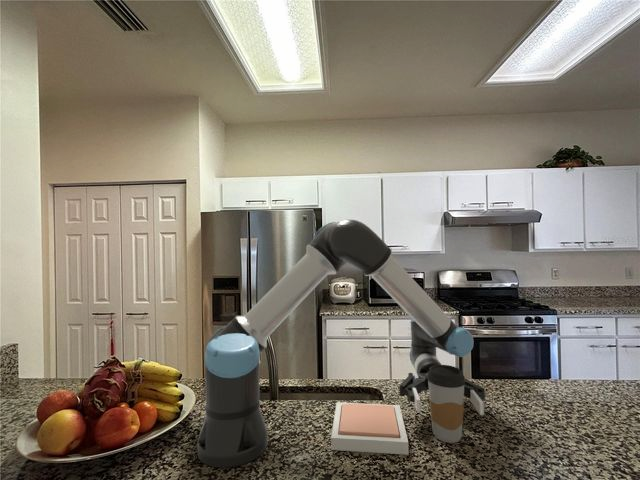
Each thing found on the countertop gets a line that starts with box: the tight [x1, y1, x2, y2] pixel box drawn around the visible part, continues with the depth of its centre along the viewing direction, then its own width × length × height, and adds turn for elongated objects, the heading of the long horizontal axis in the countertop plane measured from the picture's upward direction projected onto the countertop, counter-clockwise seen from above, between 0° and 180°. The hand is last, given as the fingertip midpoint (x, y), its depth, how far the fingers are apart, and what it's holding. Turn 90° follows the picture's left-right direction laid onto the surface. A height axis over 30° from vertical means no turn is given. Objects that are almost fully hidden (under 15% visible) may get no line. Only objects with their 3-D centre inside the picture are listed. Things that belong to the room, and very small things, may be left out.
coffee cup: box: [427, 364, 466, 444], centre depth 77 cm, size 8×8×15 cm
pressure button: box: [339, 402, 399, 438], centre depth 79 cm, size 13×13×1 cm
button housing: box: [330, 401, 410, 455], centre depth 79 cm, size 16×16×3 cm
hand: (449, 407), depth 74 cm, fingers open, 13 cm apart
